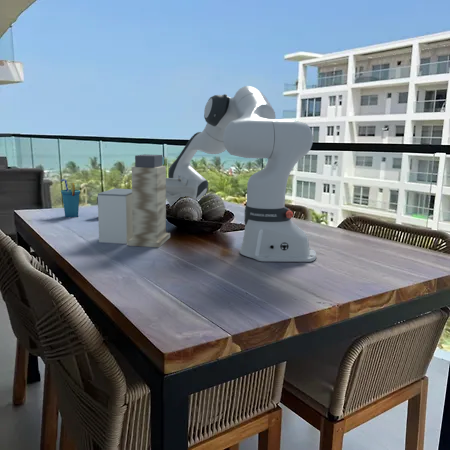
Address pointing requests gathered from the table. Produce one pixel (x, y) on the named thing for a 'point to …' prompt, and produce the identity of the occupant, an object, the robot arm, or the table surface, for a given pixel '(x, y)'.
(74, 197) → the cup
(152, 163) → the dark grey rectangular block
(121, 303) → the table surface
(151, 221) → the marble stone pillar
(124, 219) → the block
